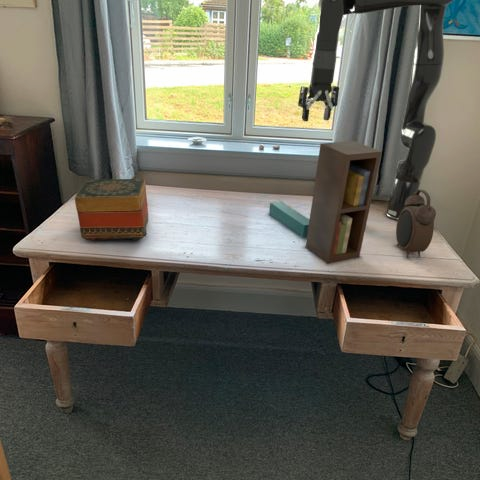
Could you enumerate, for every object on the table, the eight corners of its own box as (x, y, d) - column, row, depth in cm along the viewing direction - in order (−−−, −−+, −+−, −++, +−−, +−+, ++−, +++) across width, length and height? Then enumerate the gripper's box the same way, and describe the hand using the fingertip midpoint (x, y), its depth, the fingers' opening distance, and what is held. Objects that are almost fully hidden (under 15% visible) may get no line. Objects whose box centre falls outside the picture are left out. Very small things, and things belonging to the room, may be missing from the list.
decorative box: (142, 252, 145) (145, 198, 137) (69, 241, 144) (67, 187, 135) (154, 228, 163) (157, 180, 154) (88, 219, 161) (88, 169, 153)
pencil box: (268, 214, 175) (270, 202, 172) (279, 212, 176) (280, 201, 174) (302, 237, 159) (304, 225, 156) (314, 235, 161) (315, 223, 158)
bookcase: (305, 247, 152) (320, 143, 135) (335, 241, 157) (353, 140, 140) (328, 263, 144) (347, 154, 126) (359, 257, 149) (381, 151, 131)
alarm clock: (388, 242, 159) (403, 183, 148) (409, 243, 160) (425, 183, 149) (404, 262, 147) (421, 199, 136) (426, 263, 148) (445, 200, 137)
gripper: (311, 67, 146) (304, 124, 155) (348, 67, 152) (339, 122, 161) (297, 64, 151) (291, 119, 160) (333, 64, 157) (326, 117, 166)
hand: (315, 120), depth 161 cm, fingers open, 8 cm apart
